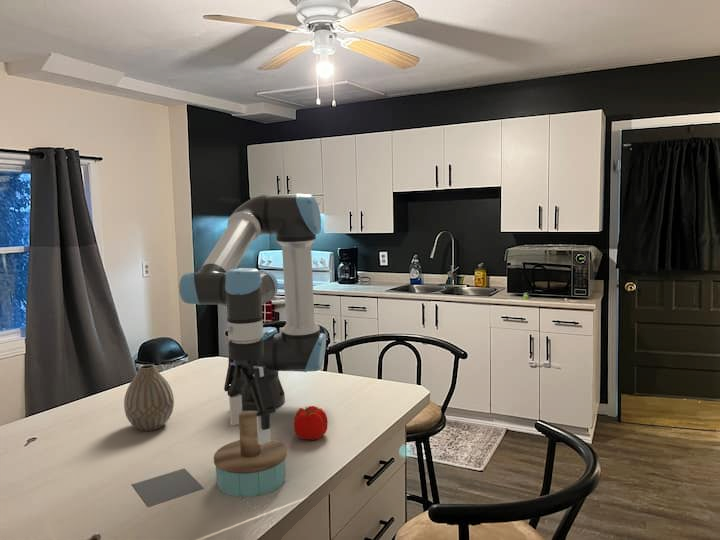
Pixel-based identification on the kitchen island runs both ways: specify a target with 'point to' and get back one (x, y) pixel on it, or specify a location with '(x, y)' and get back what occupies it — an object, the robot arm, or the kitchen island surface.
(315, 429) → the tomato
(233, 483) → the bowl
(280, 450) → the lid
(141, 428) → the vase
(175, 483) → the mat
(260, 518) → the kitchen island surface
